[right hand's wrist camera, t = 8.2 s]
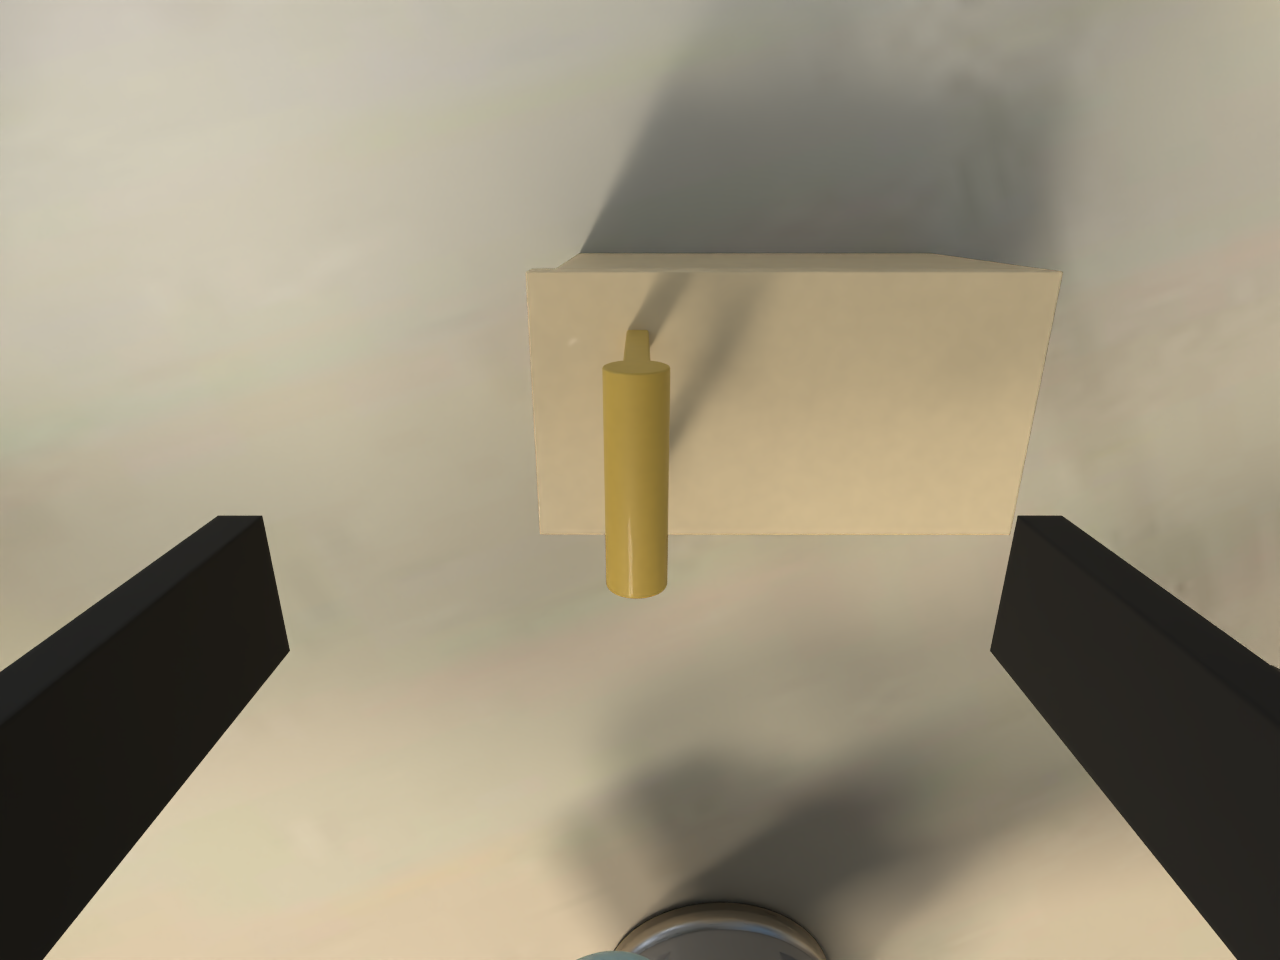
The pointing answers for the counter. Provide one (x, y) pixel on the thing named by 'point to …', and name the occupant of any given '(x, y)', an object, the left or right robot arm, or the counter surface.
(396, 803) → the counter surface
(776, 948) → the left robot arm
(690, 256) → the chest
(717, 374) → the lid
